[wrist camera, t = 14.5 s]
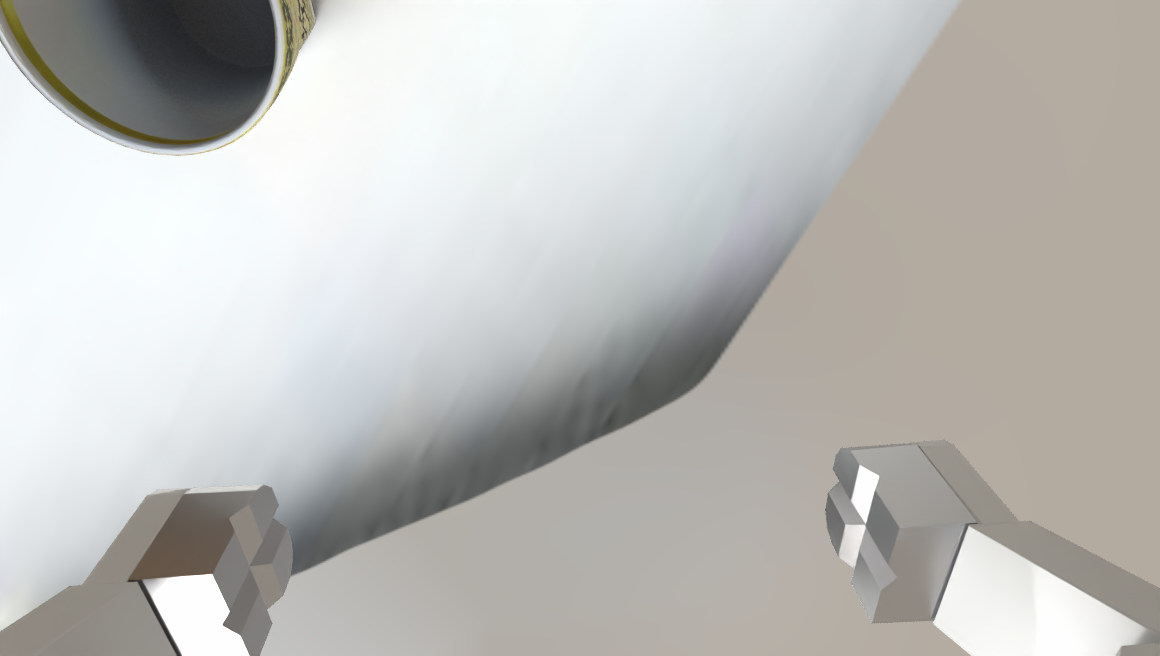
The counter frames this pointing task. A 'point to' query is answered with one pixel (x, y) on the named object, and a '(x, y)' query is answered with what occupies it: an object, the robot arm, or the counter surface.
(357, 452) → the counter surface
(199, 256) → the counter surface
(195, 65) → the ceramic cup
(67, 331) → the counter surface
